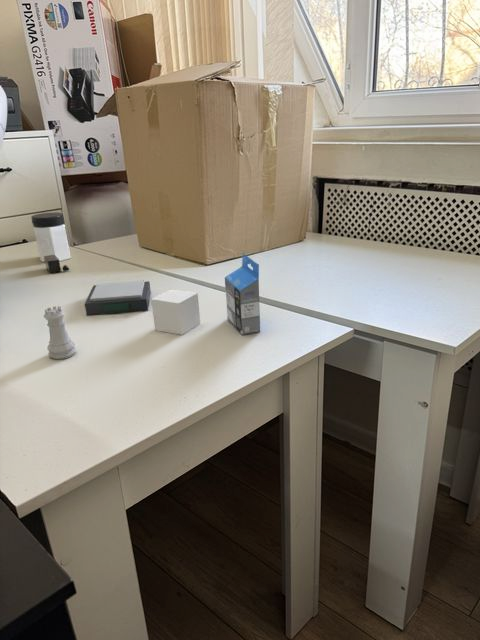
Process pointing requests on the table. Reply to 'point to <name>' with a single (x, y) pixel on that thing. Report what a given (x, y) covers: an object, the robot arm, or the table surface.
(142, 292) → the scale
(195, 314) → the white cube
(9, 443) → the table surface
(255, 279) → the ink cartridge box
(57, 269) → the wireless earbuds
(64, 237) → the jar
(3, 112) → the robot arm
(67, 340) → the rook chess piece
